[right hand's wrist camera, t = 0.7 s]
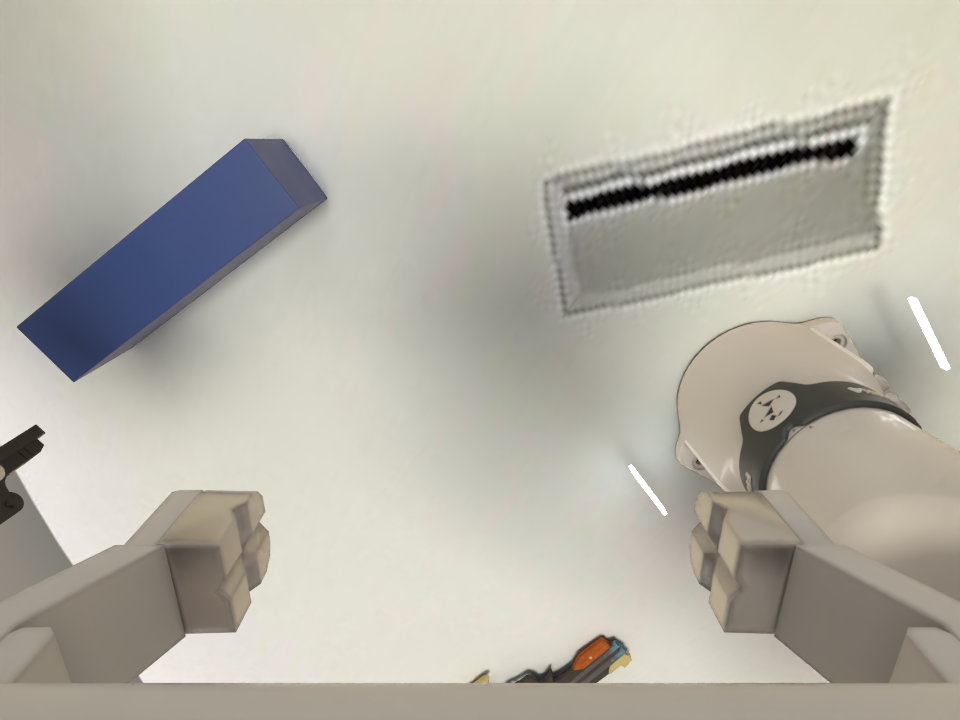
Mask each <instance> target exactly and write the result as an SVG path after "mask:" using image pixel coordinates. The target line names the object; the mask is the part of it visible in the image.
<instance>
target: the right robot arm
mask: <svg viewBox="0 0 960 720" xmlns="http://www.w3.org/2000/svg"><path fill="white" fill-rule="evenodd" d="M908 301H909V303H910V305H911V307H912V309H913V311H914V313H915V315H916V317H917V319H918V321H919V323H920V325H921V327H922V330H923V332H924V334H925V336H926V338H927V340H928V342H929V344H930V346H931V348H932V350H933V352H934V354H935V356H936V358H937V360H938V362H939V364H940V367H941V368H943V369H945V370H948V369H949V368H950V367H949V365H948V362H947V360H946V358H945V356H944V354H943V352H942V350H941V348H940V346H939V344H938V342H937V340H936V337H935V335H934V333H933V331H932V329H931V327H930V325H929V323H928V321H927V319H926V317H925V315H924V312H923V310H922V308H921V306H920V304H919V302H918V300H917V299H916V298H914V297H910V298H908ZM834 339H836V341H833V340H834ZM873 372H874V369H873V367H872V366H871V365H869V364H868V363H867V362H865V361H864V360H863V359H862V357H861V356H860V354H859V352H858V351H857V349H856V347H855V345H854V344H853V342H852V340H851V339H850V337H849V335H848V333H847V332H846V330H845V328H844V327H843V325H842V324H841V323H839V322H838V321H837V320H835V319H834V318H829V317H825V318H819V319H814V320H811V321H807V322H803V323H797V324H794V323H784V322H773V321H765V322H756V323H751V324H746V325H743V326H740V327H737V328H734V329H732V330H730V331H728V332H726V333H724V334H722V335H721V336H719V337H717V338H716V339H715V340H713V341H712V342H710V343H709V344H708V345H707V346H706V347H705V348H703V349H702V350H701V352H700V353H699V354H698V355H697V356H696V357H695V358H694V360H693V361H692V362H691V364H690V365H689V367H688V369H687V370H686V372H685V374H684V376H683V379H682V381H681V384H680V388H679V392H678V400H677V409H678V416H679V422H680V434H679V438H678V441H677V445H676V450H675V455H676V458H677V460H678V461H679V462H680V463H681V464H682V465H683V466H685V467H686V468H688V469H690V470H692V471H694V472H696V473H698V474H700V475H702V476H704V477H706V478H708V479H710V480H711V481H713V482H715V483H717V484H718V485H719V486H720V487H721V488H722V489H723V490H724V491H725V492H700V494H699V496H698V498H697V500H696V506H695V513H696V515H697V516H698V518H699V520H700V521H701V522H700V523H699V524H698V525H697V526H696V527H695V528H694V529H693V530H692V531H691V539H690V557H691V564H692V567H693V571H694V574H695V576H696V578H697V580H698V582H699V584H701V585H702V586H703V587H705V588H706V589H708V590H709V591H711V592H710V598H709V604H710V606H711V608H712V610H713V612H714V614H715V616H716V618H717V619H718V621H719V623H720V625H721V627H722V629H723V631H724V632H732V633H768V634H775V635H774V636H775V637H776V638H777V639H778V640H780V641H781V642H782V643H783V644H785V645H786V646H787V647H788V648H789V649H791V650H792V651H793V652H794V653H795V654H797V655H798V656H799V657H800V658H801V659H803V660H804V661H805V662H806V663H807V664H809V665H810V666H811V667H812V668H813V669H815V670H816V671H817V672H818V673H820V674H821V675H822V676H823V677H824V678H826V679H827V680H828V681H829V682H830V683H130V682H131V681H132V680H133V679H135V678H136V677H137V676H138V675H139V674H141V673H142V672H143V671H144V670H145V669H147V668H148V667H149V666H150V665H152V664H153V663H154V662H155V661H156V660H158V659H159V658H160V657H161V656H162V655H164V654H165V653H166V652H167V651H168V650H170V649H171V648H172V647H173V646H175V645H176V644H177V643H178V642H179V641H181V640H182V639H183V638H184V637H185V636H186V635H185V634H192V633H227V632H236V631H237V629H238V627H239V625H240V623H241V621H242V620H243V618H244V616H245V614H246V612H247V610H248V608H249V606H250V604H251V598H250V592H249V591H251V590H252V589H254V588H255V587H257V586H258V585H259V584H261V582H262V580H263V578H264V576H265V574H266V572H267V567H268V563H269V558H270V538H269V531H268V530H267V529H266V528H265V527H264V526H263V525H262V524H261V523H260V522H259V521H260V520H261V518H262V516H263V515H264V513H265V507H264V502H263V497H262V495H261V494H260V493H259V492H258V491H212V490H206V491H203V490H179V491H175V492H172V493H171V494H170V495H169V496H168V497H167V498H166V499H165V501H164V502H163V503H162V504H161V505H160V506H159V507H158V508H157V509H156V510H155V512H154V513H153V514H152V515H151V516H150V517H149V518H148V519H147V520H146V521H145V523H144V524H143V525H142V526H141V527H140V528H139V529H138V530H137V531H136V532H135V534H134V535H133V536H132V537H131V538H130V539H129V540H128V541H127V542H126V543H125V545H115V546H112V547H110V548H108V549H106V550H104V551H102V552H100V553H98V554H96V555H94V556H92V557H90V558H88V559H86V560H84V561H82V562H80V563H78V564H76V565H74V566H72V567H70V568H67V569H65V570H63V571H61V572H59V573H57V574H55V575H53V576H51V577H49V578H47V579H45V580H43V581H41V582H39V583H37V584H35V585H33V586H31V587H28V588H27V589H24V590H22V591H20V592H18V593H16V594H14V595H12V596H10V597H8V598H6V599H4V600H2V601H0V720H960V451H958V450H956V449H954V448H952V447H951V446H949V445H947V444H945V443H944V442H942V441H940V440H938V439H937V438H935V437H933V436H932V435H930V434H928V433H927V432H925V431H923V430H922V428H921V426H920V425H919V424H918V423H917V421H916V420H915V419H914V418H913V417H912V416H911V415H910V414H909V413H910V409H909V408H908V406H907V405H906V404H905V403H904V402H903V400H901V399H900V398H899V397H898V396H897V395H895V394H894V393H892V392H890V393H886V394H885V395H884V393H883V392H884V391H885V390H887V389H888V388H889V387H890V385H889V384H888V382H887V381H886V380H885V379H884V378H883V377H882V376H880V375H879V374H876V375H875V376H873ZM697 459H698V460H699V461H696V460H697ZM629 468H630V470H631V472H632V473H633V475H634V476H635V477H636V479H637V480H638V481H639V483H640V484H641V485H642V487H643V488H644V489H645V491H646V492H647V493H648V495H649V496H650V497H651V498H652V500H653V501H654V502H655V504H656V505H657V506H658V508H659V509H660V510H661V512H662V513H663V514H664V515H666V514H667V512H666V511H665V509H664V507H663V506H662V504H661V503H660V502H659V500H658V499H657V498H656V496H655V495H654V494H653V492H652V491H651V490H650V488H649V487H648V486H647V484H646V483H645V482H644V480H643V479H642V478H641V476H640V475H639V474H638V472H637V471H636V470H635V468H634V467H633V466H632V465H630V466H629Z"/></svg>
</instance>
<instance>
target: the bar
mask: <svg viewBox="0 0 960 720" xmlns="http://www.w3.org/2000/svg"><path fill="white" fill-rule="evenodd" d="M326 199H327V197H326V195H325V194H324V193H323V191H322V190H321V189H320V187H319V186H318V185H317V183H316V182H315V181H314V180H313V178H312V177H311V176H310V174H309V173H308V172H307V170H306V169H305V168H304V166H303V165H302V164H301V162H300V161H299V160H298V158H297V157H296V156H295V155H294V153H293V152H292V151H291V149H290V148H289V147H288V145H287V144H286V143H285V141H284V140H283V139H244V140H242V141H241V142H240V143H239V144H238V145H236V146H235V147H234V148H233V149H232V150H230V151H229V152H228V153H227V154H226V155H224V156H223V157H222V158H221V159H219V160H218V161H217V162H216V163H215V164H213V165H212V166H211V167H210V168H209V169H207V170H206V171H205V172H204V173H202V174H201V175H200V176H199V177H198V178H196V179H195V180H194V181H193V182H192V183H190V184H189V185H188V186H187V187H186V188H184V189H183V190H182V191H181V192H179V193H178V194H177V195H176V196H175V197H173V198H172V199H171V200H170V201H169V202H167V203H166V204H165V205H164V206H162V207H161V208H160V209H159V210H158V211H156V212H155V213H154V214H153V215H152V216H150V217H149V218H148V219H147V220H146V221H144V222H143V223H142V224H141V225H139V226H138V227H137V228H136V229H135V230H133V231H132V232H131V233H130V234H129V235H127V236H126V237H125V238H124V239H122V240H121V241H120V242H119V243H118V244H116V245H115V246H114V247H113V248H112V249H110V250H109V251H108V252H107V253H106V254H104V255H103V256H102V257H101V258H99V259H98V260H97V261H96V262H95V263H93V264H92V265H91V266H90V267H89V268H87V269H86V270H85V271H84V272H82V273H81V274H80V275H79V276H78V277H76V278H75V279H74V280H73V281H72V282H70V283H69V284H68V285H67V286H66V287H64V288H63V289H62V290H61V291H59V292H58V293H57V294H56V295H55V296H53V297H52V298H51V299H50V300H49V301H47V302H46V303H45V304H44V305H42V306H41V307H40V308H39V309H38V310H36V311H35V312H34V313H33V314H32V315H30V316H29V317H28V318H27V319H26V320H24V321H23V322H22V323H21V324H19V325H18V326H17V328H18V329H19V330H20V331H21V332H22V333H23V334H24V335H25V336H26V337H27V338H28V339H29V340H30V341H31V342H33V343H34V344H35V345H36V346H37V347H38V348H39V349H40V350H41V351H42V352H43V353H44V354H45V355H46V356H47V357H48V358H49V359H50V360H51V361H52V362H53V363H54V364H55V365H56V366H57V367H58V368H59V369H61V370H62V371H63V372H64V373H65V374H66V375H67V376H68V377H69V378H70V379H71V380H72V381H73V382H75V381H77V380H78V379H80V378H82V377H83V376H85V375H87V374H89V373H90V372H92V371H94V370H95V369H97V368H99V367H100V366H102V365H104V364H105V363H107V362H109V361H110V360H112V359H114V358H116V357H117V356H119V355H121V354H122V353H124V352H126V351H127V350H129V349H131V348H132V347H134V346H135V345H136V344H137V343H139V342H140V341H141V340H143V339H144V338H145V337H147V336H148V335H149V334H151V333H152V332H153V331H154V330H156V329H157V328H158V327H160V326H161V325H162V324H164V323H165V322H166V321H168V320H169V319H170V318H171V317H173V316H174V315H175V314H177V313H178V312H179V311H181V310H182V309H183V308H184V307H186V306H187V305H188V304H190V303H191V302H192V301H194V300H195V299H196V298H198V297H199V296H200V295H201V294H203V293H204V292H205V291H207V290H208V289H209V288H211V287H212V286H213V285H215V284H216V283H217V282H218V281H220V280H221V279H222V278H224V277H225V276H226V275H228V274H229V273H230V272H232V271H233V270H234V269H235V268H237V267H238V266H239V265H241V264H242V263H243V262H245V261H246V260H247V259H249V258H250V257H251V256H252V255H254V254H255V253H256V252H258V251H259V250H260V249H262V248H263V247H264V246H266V245H267V244H268V243H269V242H271V241H272V240H273V239H275V238H276V237H277V236H279V235H280V234H281V233H283V232H284V231H285V230H286V229H288V228H289V227H290V226H292V225H293V224H294V223H296V222H297V221H298V220H300V219H301V218H302V217H303V216H305V215H306V214H307V213H309V212H310V211H311V210H313V209H314V208H315V207H317V206H318V205H319V204H320V203H322V202H323V201H324V200H326Z"/></svg>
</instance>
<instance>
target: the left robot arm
mask: <svg viewBox="0 0 960 720" xmlns="http://www.w3.org/2000/svg"><path fill="white" fill-rule="evenodd" d="M44 434H45V432H44V431H43V430H42V429H41V428H40V427H39V426H37V425H34V426H33V427H31V428H30V429H28V430H26V431H25V432H23V433H22V434H20V435H18V436H17V437H15V438H14V439H12V440H11V441H9V442H7V443H6V444H4V445H3V446H1V447H0V524H2V523H3V522H5V521H6V520H7V519H9V518H10V517H12V516H13V515H15V514H16V513H17V512H19V511H20V510H21V509H22V508H23V505H24V502H23V499H22V498H21V496H19V495H18V494H16V493H13V492H9V491H8V489H7V487H6V485H5V479H6V477H7V476H8V475H9V474H11V473H12V472H14V471H15V470H17V469H18V468H19V467H21V466H22V465H24V464H25V463H26V462H28V461H29V460H30V459H32V458H33V457H34V456H36V455H37V454H38V453H39V452H41V450H42V448H43V446H44V444H42V443H41V442H40V441H39V440H38V439H39V438H40V437H41V436H42V435H44Z"/></svg>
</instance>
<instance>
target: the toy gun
mask: <svg viewBox="0 0 960 720" xmlns="http://www.w3.org/2000/svg"><path fill="white" fill-rule="evenodd" d="M630 661H631V656H630V653H629V652H627V650H626V648H625V647H624V646H623V645H622V644H619V643H618V641H616V640H613V641H612V640H611V641H610V642H608V641H607V640H606V639H605V638H603V637H600V638H599V639H597V640H596V641H595V642H593V643H592V644H591V645H589V646H588V647H587V648H585V649H584V650H583V651H582V652H580V653H579V654H578V655H577V657H576V659H575V661H574V663H573V665H572V667H571V668H569V669H568V670H567V671H566V672H564V673H563V674H561V675H560V676H558V677H556V678H553V677H552V669H551V668H550V670H549V671H548V673H547V674H546V676H545V677H544V678H543V679H542V680H539V679H537V678H536V677H535V676H533V675H526V676H525V677H523V678H522V679H521V680H520V681H518V682H516V683H597V682H598V681H600V680H601V679H602V678H604V677H605V676H606V675H608V674H610V673H611V672H613V671H614V670H615V669H617V668H618V667H619V666H621V665H622V666H623V667H624V668H625V667H626V666H627V665H628V664H629V663H630ZM488 681H489V676H488V675H484V676H482V677H481V678H479V679H478V680H476V681H475V682H474V683H488Z"/></svg>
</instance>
